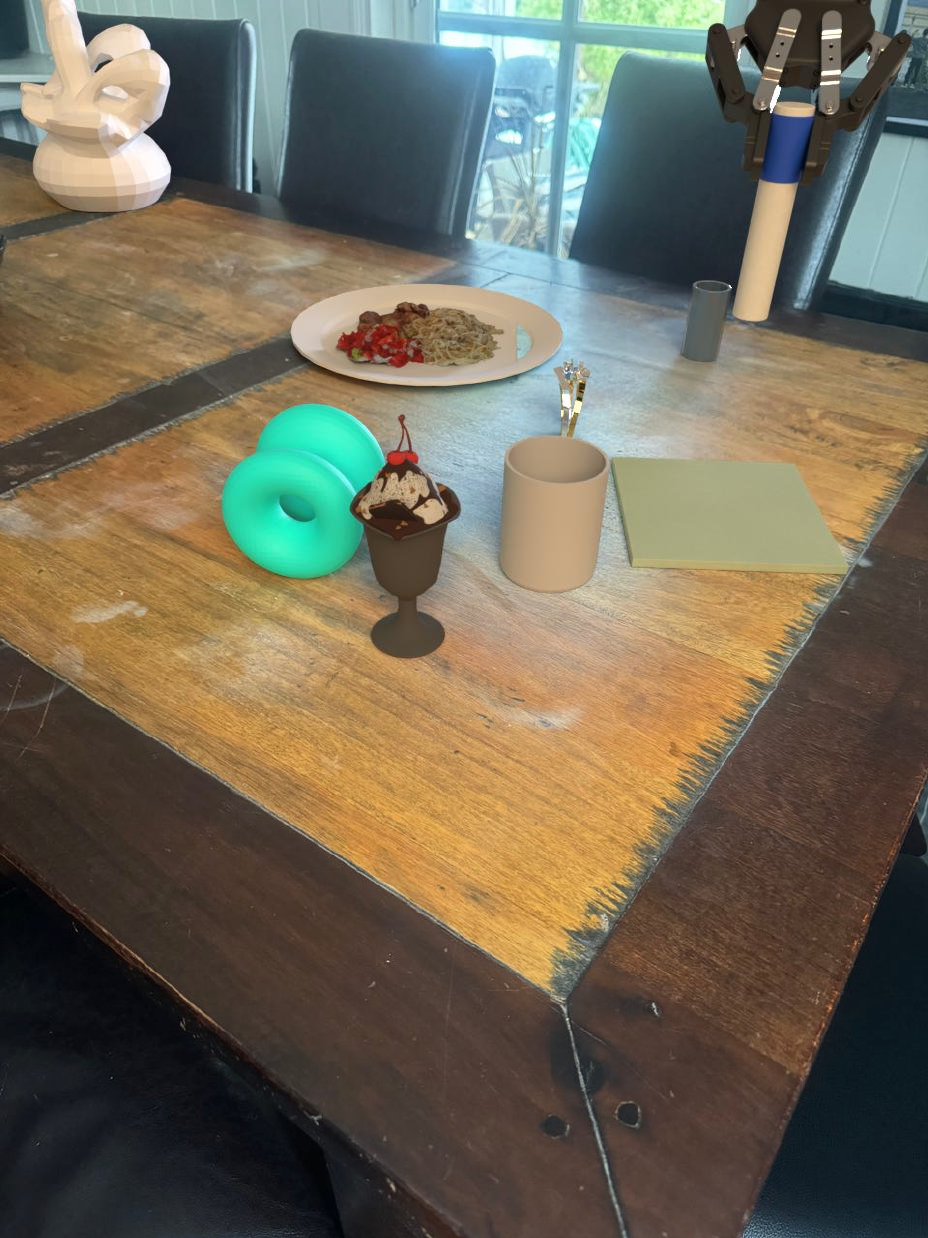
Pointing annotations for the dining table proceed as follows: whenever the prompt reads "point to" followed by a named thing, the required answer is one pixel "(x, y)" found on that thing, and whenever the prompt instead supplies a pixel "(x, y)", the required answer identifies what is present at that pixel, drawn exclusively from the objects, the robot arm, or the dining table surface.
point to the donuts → (302, 491)
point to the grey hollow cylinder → (705, 320)
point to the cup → (552, 512)
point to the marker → (773, 208)
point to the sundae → (406, 546)
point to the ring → (570, 393)
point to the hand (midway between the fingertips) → (781, 174)
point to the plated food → (425, 334)
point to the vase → (98, 116)
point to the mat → (722, 517)
